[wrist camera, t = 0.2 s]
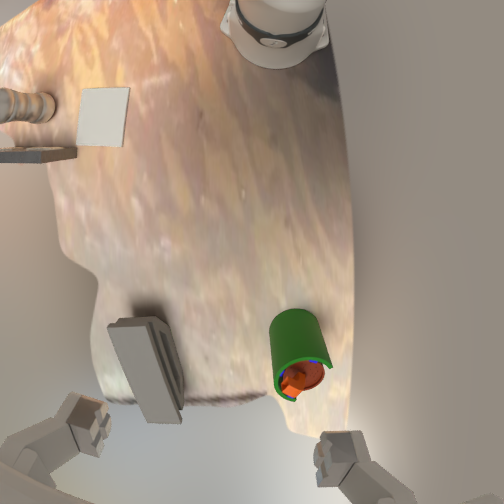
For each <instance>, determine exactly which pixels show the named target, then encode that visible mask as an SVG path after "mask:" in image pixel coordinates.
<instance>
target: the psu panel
mask: <svg viewBox="0 0 504 504" xmlns="http://www.w3.org/2000/svg"><path fill="white" fill-rule="evenodd" d="M73 158H77V148H62V147H33V148H24V147H12V148H0V163H47V162H53V161H59V160H66V159H73Z"/></svg>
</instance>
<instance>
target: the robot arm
mask: <svg viewBox="0 0 504 504" xmlns="http://www.w3.org/2000/svg"><path fill="white" fill-rule="evenodd" d="M325 2H326V0H230V3H229V6H228V9H227V11H226V13H225V15H224V17H223V20H222V22H221V24H220V30H221V32H222V33H223V34H225V35H226V36H227V37H229V38H230V39H231V40H232V41H233V42H234V44H235V46H236V48H237V49H238V51H239V52H240V53H241V55H242V56H243V57H245V58H246V59H247V60H248V61H250V62H252V63H253V64H255V65H258V66H261V67H264V68H269V69H283V68H288V67H292V66H295V65H297V64H299V63H300V62H302V61H303V60H305V59H306V58H307V57H308V56H309V55H310V54H311V53H312V52H314V51H317V50H320V49H322V48H325V47H326V46H327V45H328V43H329V36H328V27H327V19H326V11H325ZM227 21H228V23H227ZM322 36H323V37H322ZM108 409H109V408H108V404H107V403H106V402H103V401H100V400H97V399H94V398H91V397H87V396H84V395H81V394H78V393H75V392H71V393H69V394H68V396H67V398H66V399H65V401H64V402H63V404H62V406H61V407H60V409H59V410H58V412H57V414H56V415H55V417H54V418H51V417H50V418H48V419H46V420H44V421H42V422H40V423H37V424H35V425H33V426H31V427H28V428H26V429H24V430H22V431H20V432H17V433H15V434H13V435H11V436H8V437H7V438H6V440H5V441H4V443H3V444H2V446H1V448H0V504H94V503H90V502H88V501H85V500H82V499H80V498H77V497H74V496H72V495H69V494H66V493H64V492H62V491H59V490H57V489H56V484H55V482H54V481H53V479H52V478H51V476H50V473H51V472H53V471H54V470H56V469H57V468H59V467H60V466H62V465H63V464H64V463H66V462H68V461H69V460H70V459H72V458H73V457H75V456H76V455H78V454H79V452H82V453H85V454H88V455H92V456H95V457H98V458H99V457H100V455H101V452H102V450H103V447H104V443H103V440H104V439H106V438H108V436H109V433H110V429H111V417H110V415H109V414H108V413H107V411H108ZM320 440H321V441H320V442H319V443H317V444H316V447H315V450H314V465H315V466H316V467H317V468H318V471H317V472H316V479H317V486H318V487H338V488H339V489H340V490H341V491H342V493H343V494H344V495H345V496H346V497H347V498H348V499H349V500H350V502H351V503H352V504H417V501H416V498H415V495H414V493H413V491H411V490H410V489H409V488H408V487H406V486H405V485H404V484H402V483H401V482H400V481H399V480H397V479H396V478H395V477H393V476H392V475H391V474H390V473H389V472H387V471H386V470H385V469H383V467H381V466H380V465H379V464H378V463H377V462H375V461H371V458H370V455H369V452H368V449H367V446H366V442H365V439H364V436H363V433H362V432H361V431H324V432H322V434H321V436H320ZM461 504H504V499H502V498H500V497H498V496H496V495H494V494H491V493H489V494H485V495H482V496H479V497H477V498H474V499H472V500H469V501H466V502H464V503H461Z"/></svg>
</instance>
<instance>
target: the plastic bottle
mask: <svg viewBox="0 0 504 504" xmlns="http://www.w3.org/2000/svg"><path fill="white" fill-rule="evenodd" d="M54 111H55V102H54V99H53V97H52V96H51V95H49V94H47V93H44V92H41V93H22V92H17V91H14V90H11V89H8V88H0V124H2V123H7V122H11V121H25V122H29V123H33V124H41V123H45V122H47V121H48V120H49V119H50V118H51V117H52V115H53V113H54Z"/></svg>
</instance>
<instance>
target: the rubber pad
mask: <svg viewBox="0 0 504 504" xmlns="http://www.w3.org/2000/svg"><path fill="white" fill-rule="evenodd" d="M129 94H130V88H92V89H83V90H82V97H81V104H80V111H79V119H78V128H77V139H76V145H86V146H113V147H123V140H124V131H125V122H126V114H127V107H128V100H129Z"/></svg>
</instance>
